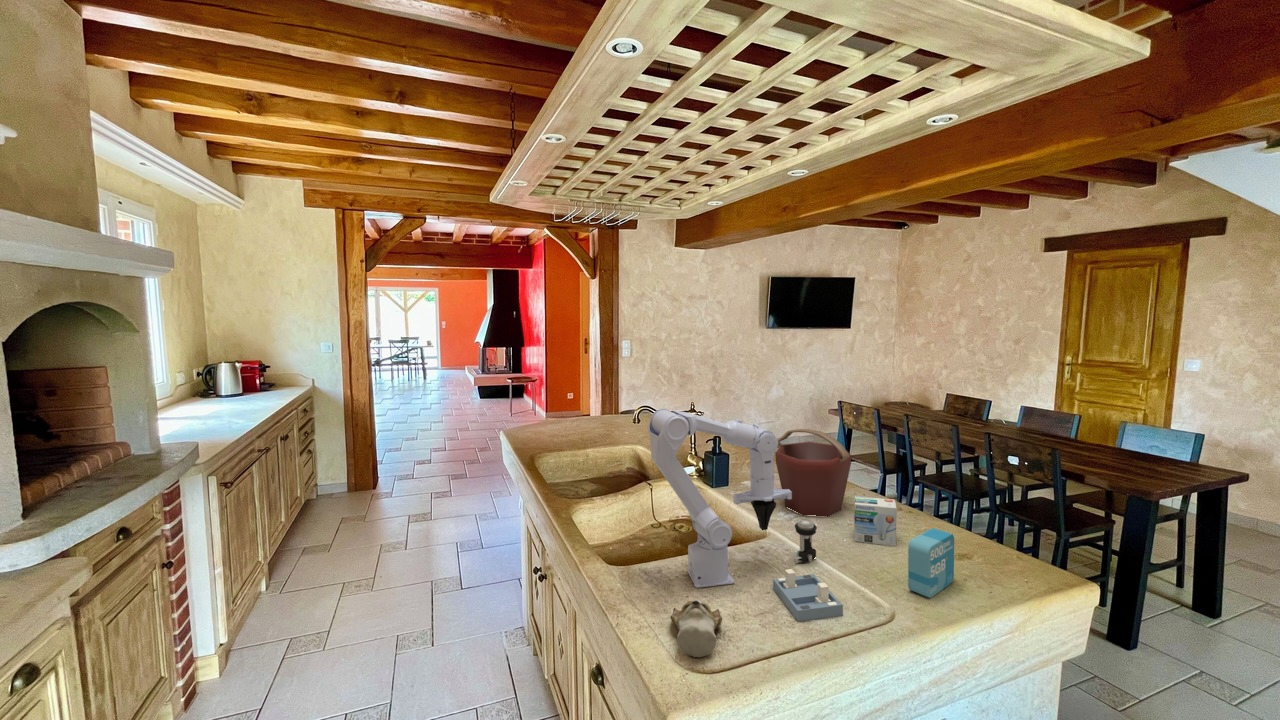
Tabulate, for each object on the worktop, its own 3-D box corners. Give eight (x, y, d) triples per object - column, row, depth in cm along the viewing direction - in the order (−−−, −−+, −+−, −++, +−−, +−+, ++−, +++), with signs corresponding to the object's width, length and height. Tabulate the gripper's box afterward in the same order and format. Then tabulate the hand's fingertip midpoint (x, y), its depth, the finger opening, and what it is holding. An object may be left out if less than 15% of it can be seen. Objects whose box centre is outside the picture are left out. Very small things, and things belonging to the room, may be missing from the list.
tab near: (819, 607, 110) (819, 588, 110) (815, 602, 112) (814, 583, 112) (831, 606, 111) (830, 586, 110) (826, 601, 113) (826, 581, 112)
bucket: (762, 501, 175) (760, 428, 172) (812, 489, 184) (811, 419, 181) (814, 527, 153) (813, 444, 150) (868, 512, 162) (868, 433, 159)
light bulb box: (854, 541, 142) (853, 504, 141) (853, 531, 148) (853, 495, 147) (897, 547, 138) (897, 507, 137) (895, 536, 144) (895, 499, 143)
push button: (803, 568, 129) (803, 529, 128) (787, 560, 134) (786, 523, 133) (821, 560, 132) (821, 523, 132) (805, 553, 137) (804, 516, 136)
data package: (928, 600, 113) (928, 547, 112) (907, 591, 117) (907, 540, 116) (954, 582, 120) (954, 532, 119) (934, 574, 124) (934, 526, 122)
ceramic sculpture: (667, 619, 96) (670, 581, 111) (668, 665, 96) (671, 621, 111) (725, 620, 95) (720, 582, 110) (726, 667, 95) (721, 622, 110)
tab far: (786, 592, 117) (786, 574, 116) (783, 588, 119) (782, 569, 118) (797, 591, 117) (797, 572, 117) (793, 586, 119) (793, 568, 118)
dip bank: (797, 621, 108) (797, 610, 107) (773, 588, 120) (773, 578, 120) (842, 615, 109) (842, 604, 109) (813, 583, 122) (813, 573, 122)
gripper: (739, 483, 124) (740, 538, 125) (796, 478, 126) (797, 532, 127) (730, 474, 131) (731, 526, 132) (784, 469, 133) (785, 520, 134)
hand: (763, 528), depth 130 cm, fingers closed
